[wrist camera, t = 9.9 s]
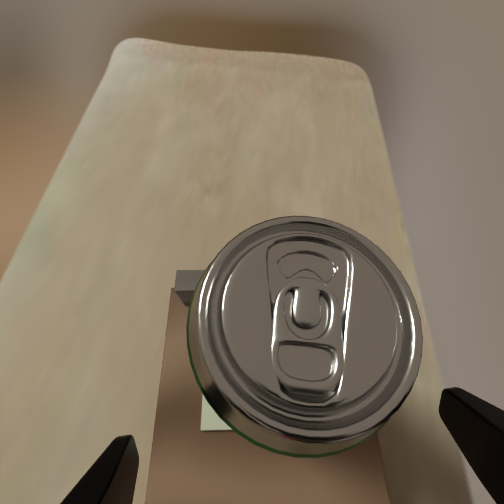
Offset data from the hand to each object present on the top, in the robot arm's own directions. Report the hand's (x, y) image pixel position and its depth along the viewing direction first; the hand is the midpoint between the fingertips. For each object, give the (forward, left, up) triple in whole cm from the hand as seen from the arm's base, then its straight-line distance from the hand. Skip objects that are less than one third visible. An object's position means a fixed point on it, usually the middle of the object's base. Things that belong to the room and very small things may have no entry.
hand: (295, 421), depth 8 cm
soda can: (+2, -1, -8) cm, 9 cm away
